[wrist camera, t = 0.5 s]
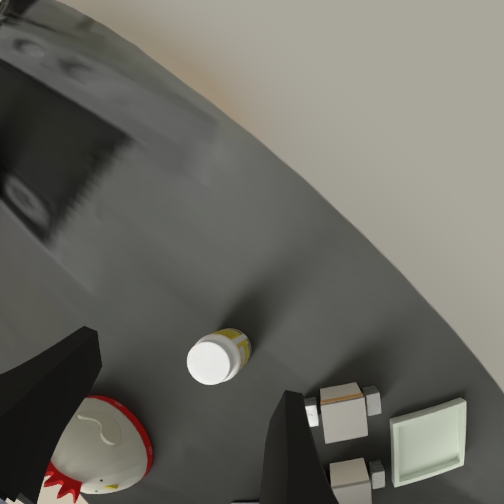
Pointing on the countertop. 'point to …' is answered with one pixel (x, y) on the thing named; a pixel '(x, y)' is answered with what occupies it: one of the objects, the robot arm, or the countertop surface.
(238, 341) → the supplement bottle
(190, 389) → the countertop surface
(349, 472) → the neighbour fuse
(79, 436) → the kitchen timer
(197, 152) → the countertop surface
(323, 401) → the white box with band
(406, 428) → the tray
